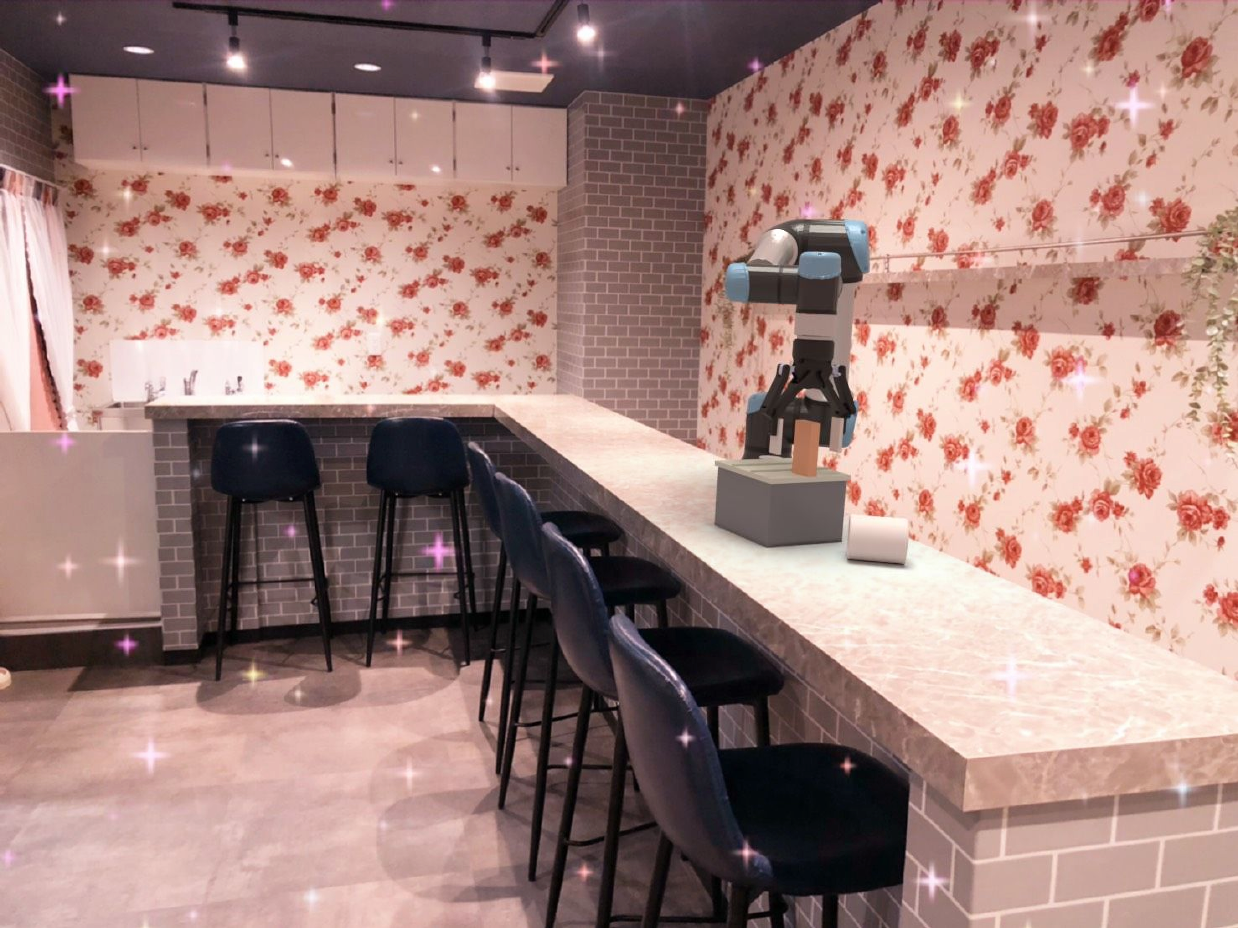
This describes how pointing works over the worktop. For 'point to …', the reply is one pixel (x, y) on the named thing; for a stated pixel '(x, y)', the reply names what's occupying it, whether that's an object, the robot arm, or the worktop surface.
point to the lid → (790, 461)
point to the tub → (780, 510)
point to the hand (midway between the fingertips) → (805, 452)
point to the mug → (877, 538)
